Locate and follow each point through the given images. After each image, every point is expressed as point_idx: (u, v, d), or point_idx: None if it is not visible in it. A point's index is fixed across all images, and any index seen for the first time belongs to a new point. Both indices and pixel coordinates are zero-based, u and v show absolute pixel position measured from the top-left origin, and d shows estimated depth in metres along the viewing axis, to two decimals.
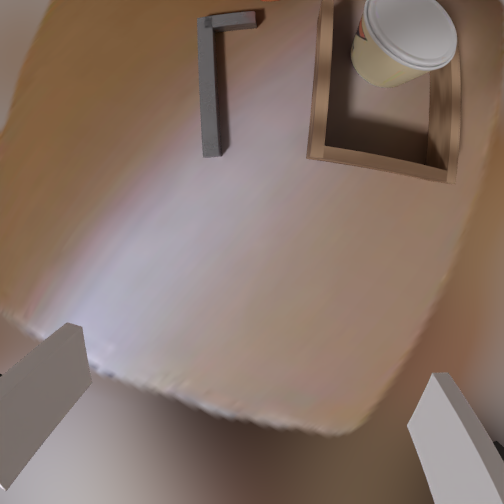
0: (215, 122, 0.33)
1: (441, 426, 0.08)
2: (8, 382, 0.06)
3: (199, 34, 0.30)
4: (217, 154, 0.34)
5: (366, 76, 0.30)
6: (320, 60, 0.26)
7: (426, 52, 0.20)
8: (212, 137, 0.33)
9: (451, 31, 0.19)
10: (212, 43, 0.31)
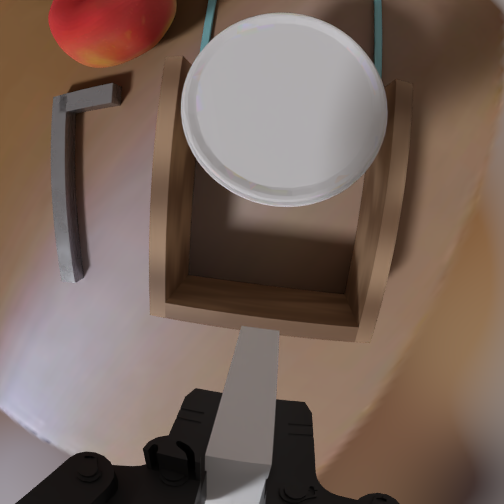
0: (68, 244, 0.26)
1: None
2: (238, 393, 0.08)
3: (53, 122, 0.23)
4: (73, 281, 0.27)
5: None
6: (154, 174, 0.19)
7: (300, 172, 0.13)
8: (67, 261, 0.27)
9: (373, 104, 0.12)
10: (64, 136, 0.23)
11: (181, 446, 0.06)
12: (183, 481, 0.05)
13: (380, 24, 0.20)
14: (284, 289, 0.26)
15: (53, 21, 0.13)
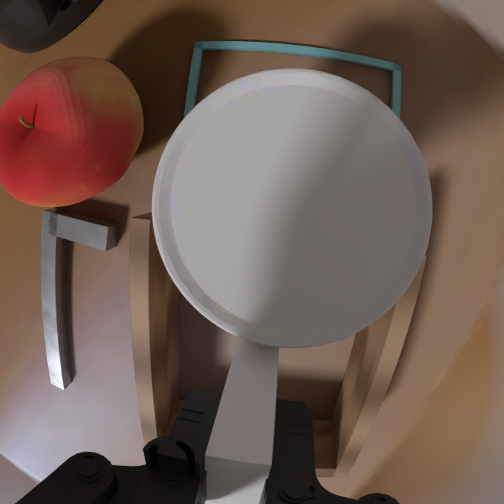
0: (58, 360, 0.25)
1: None
2: (238, 393, 0.08)
3: (43, 240, 0.22)
4: (62, 388, 0.26)
5: None
6: (134, 347, 0.18)
7: (311, 309, 0.09)
8: (56, 372, 0.25)
9: (416, 212, 0.09)
10: (55, 262, 0.22)
11: (181, 446, 0.06)
12: (183, 481, 0.05)
13: None
14: None
15: None
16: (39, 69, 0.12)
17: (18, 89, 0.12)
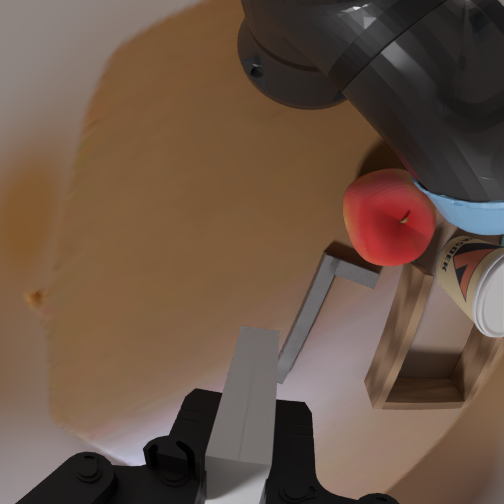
0: (292, 361, 0.38)
1: None
2: (238, 393, 0.08)
3: (319, 275, 0.35)
4: (281, 383, 0.39)
5: (445, 290, 0.34)
6: (403, 342, 0.31)
7: None
8: (283, 370, 0.38)
9: None
10: (325, 292, 0.35)
11: (181, 446, 0.06)
12: (183, 481, 0.05)
13: None
14: (424, 379, 0.38)
15: (377, 242, 0.25)
16: (406, 183, 0.25)
17: (395, 193, 0.24)
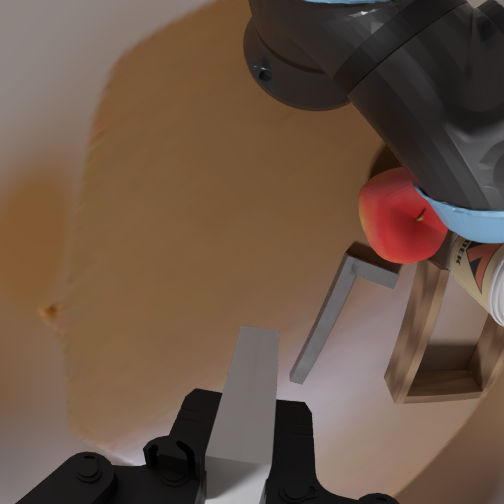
0: (312, 362, 0.38)
1: None
2: (238, 393, 0.08)
3: (341, 276, 0.35)
4: (301, 383, 0.39)
5: (459, 283, 0.33)
6: (422, 336, 0.31)
7: None
8: (304, 371, 0.38)
9: None
10: (347, 292, 0.35)
11: (181, 446, 0.06)
12: (183, 481, 0.05)
13: None
14: (442, 372, 0.38)
15: (395, 241, 0.25)
16: None
17: (410, 192, 0.24)
